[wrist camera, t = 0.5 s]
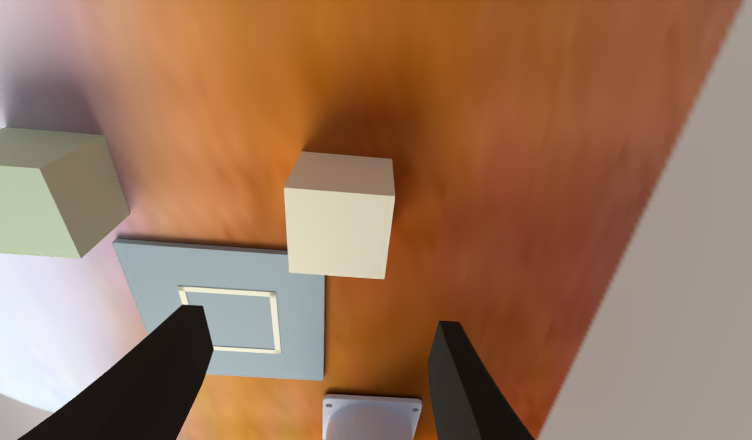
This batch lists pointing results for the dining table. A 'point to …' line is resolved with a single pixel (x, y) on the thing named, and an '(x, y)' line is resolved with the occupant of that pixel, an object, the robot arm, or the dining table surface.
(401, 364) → the dining table surface
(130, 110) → the dining table surface
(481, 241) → the dining table surface
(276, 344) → the plate
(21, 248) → the sage block
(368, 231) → the cream block
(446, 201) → the dining table surface
